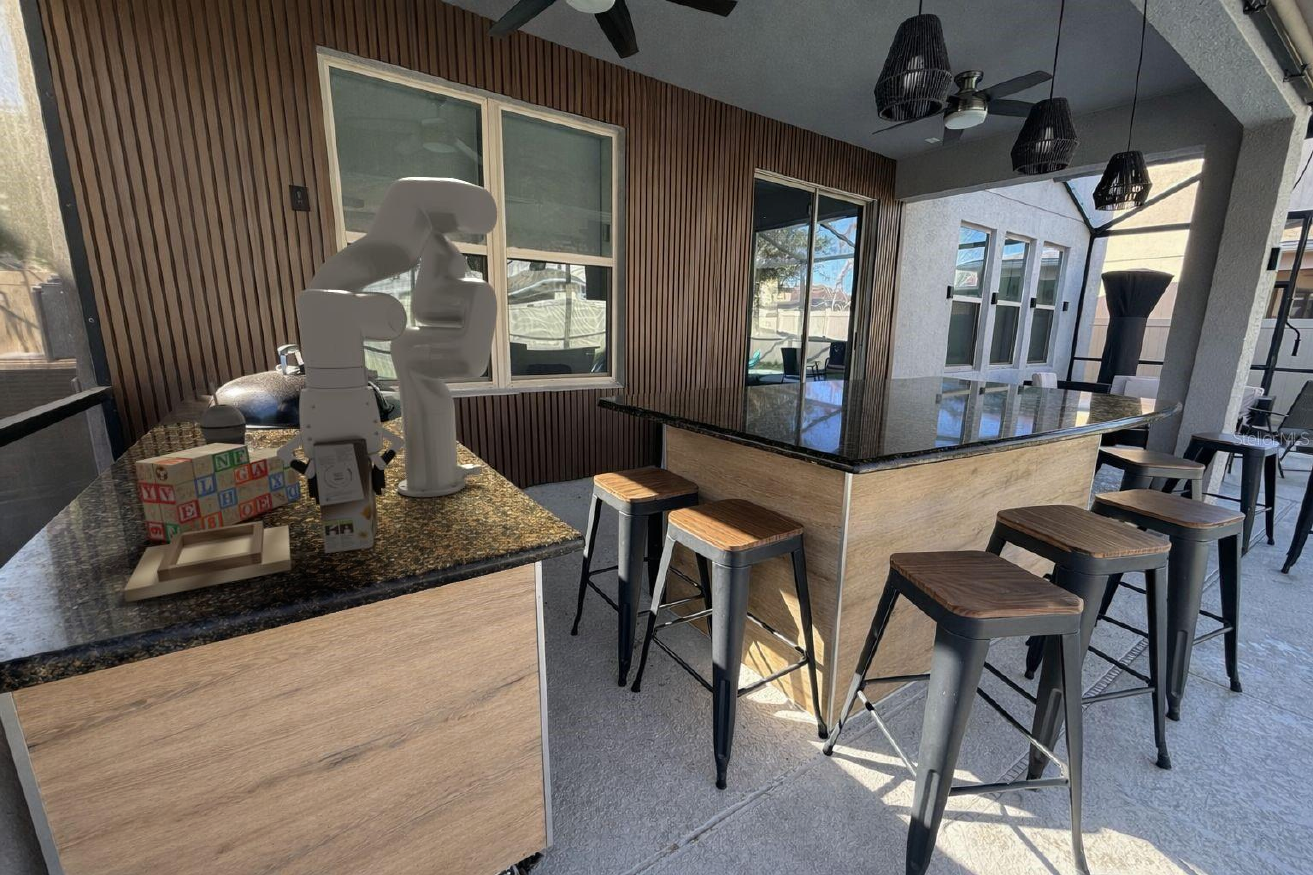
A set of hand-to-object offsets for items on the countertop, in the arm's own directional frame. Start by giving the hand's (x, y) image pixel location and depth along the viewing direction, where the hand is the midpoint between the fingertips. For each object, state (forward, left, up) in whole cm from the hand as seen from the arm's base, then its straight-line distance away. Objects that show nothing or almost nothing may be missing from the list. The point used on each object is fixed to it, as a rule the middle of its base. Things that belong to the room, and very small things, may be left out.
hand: (348, 496), depth 80 cm
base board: (+16, 0, -7) cm, 17 cm away
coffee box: (0, 0, -7) cm, 7 cm away
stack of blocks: (+15, -21, -7) cm, 27 cm away
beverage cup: (+17, -44, -7) cm, 48 cm away
